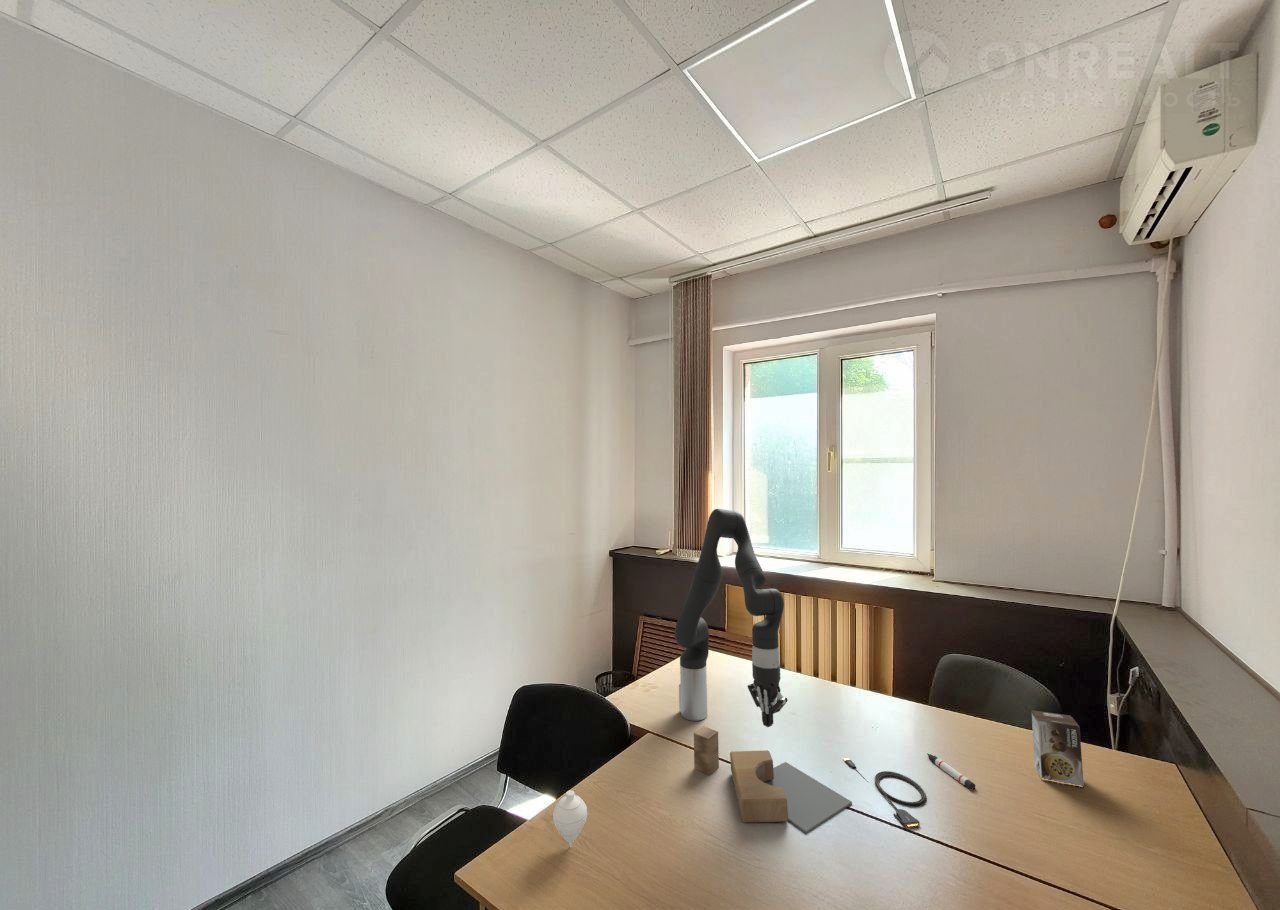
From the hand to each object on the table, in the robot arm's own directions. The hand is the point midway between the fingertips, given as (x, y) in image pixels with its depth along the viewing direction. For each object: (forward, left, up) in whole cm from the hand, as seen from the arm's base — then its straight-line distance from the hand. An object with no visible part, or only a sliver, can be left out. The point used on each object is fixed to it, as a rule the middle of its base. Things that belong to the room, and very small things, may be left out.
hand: (767, 725), depth 135 cm
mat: (+9, 0, -14) cm, 17 cm away
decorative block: (-5, -3, -11) cm, 12 cm away
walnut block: (-13, -11, -14) cm, 22 cm away
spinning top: (-8, -56, -14) cm, 58 cm away
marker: (+27, +43, -15) cm, 52 cm away
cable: (+22, +24, -15) cm, 36 cm away
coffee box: (+45, +64, -14) cm, 79 cm away
